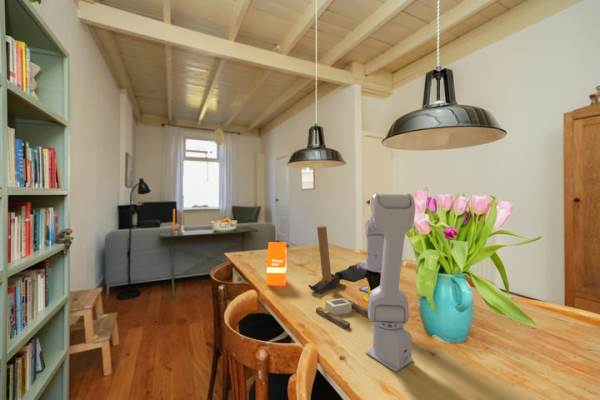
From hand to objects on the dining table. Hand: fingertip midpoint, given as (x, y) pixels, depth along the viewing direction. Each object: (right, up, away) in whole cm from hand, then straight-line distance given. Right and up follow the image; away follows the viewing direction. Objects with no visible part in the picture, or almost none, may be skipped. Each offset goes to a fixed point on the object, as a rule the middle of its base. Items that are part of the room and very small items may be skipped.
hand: (374, 292), depth 90 cm
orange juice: (-37, -9, +37) cm, 53 cm away
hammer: (-13, -9, +30) cm, 34 cm away
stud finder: (-11, -9, +7) cm, 16 cm away
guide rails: (-10, -9, +4) cm, 14 cm away
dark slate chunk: (+4, -9, +51) cm, 52 cm away
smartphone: (+9, -10, +25) cm, 28 cm away
